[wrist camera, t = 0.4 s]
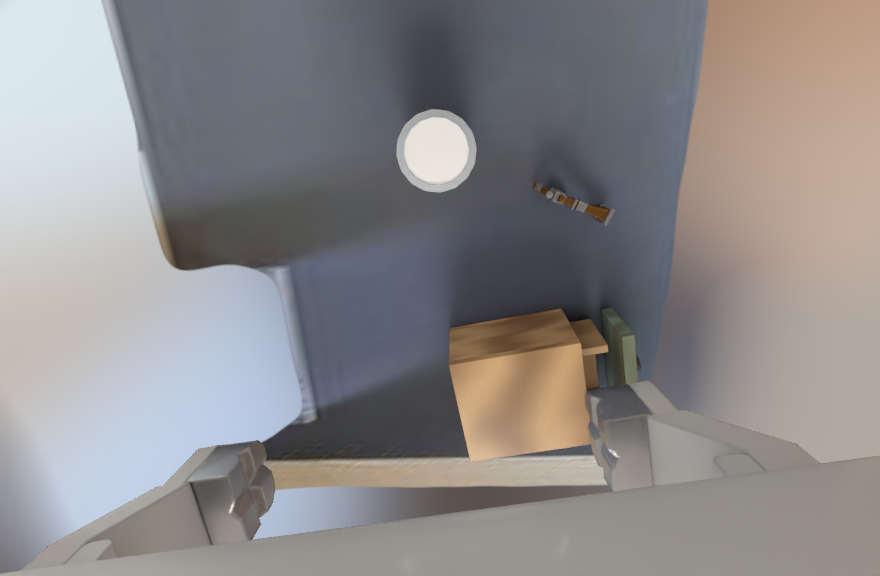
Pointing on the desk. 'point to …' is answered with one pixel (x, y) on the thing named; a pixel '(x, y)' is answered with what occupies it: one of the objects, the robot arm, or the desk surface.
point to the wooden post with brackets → (577, 204)
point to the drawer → (608, 350)
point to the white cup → (436, 150)
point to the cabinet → (519, 385)
